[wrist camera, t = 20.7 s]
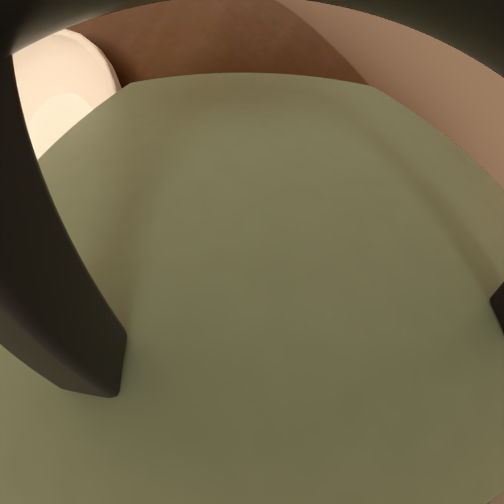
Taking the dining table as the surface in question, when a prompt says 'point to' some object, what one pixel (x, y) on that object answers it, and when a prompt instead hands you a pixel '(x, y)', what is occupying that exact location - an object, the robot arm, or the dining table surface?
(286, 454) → the box lid
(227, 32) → the dining table surface
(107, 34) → the dining table surface
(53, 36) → the bowl
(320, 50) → the dining table surface
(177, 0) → the dining table surface
